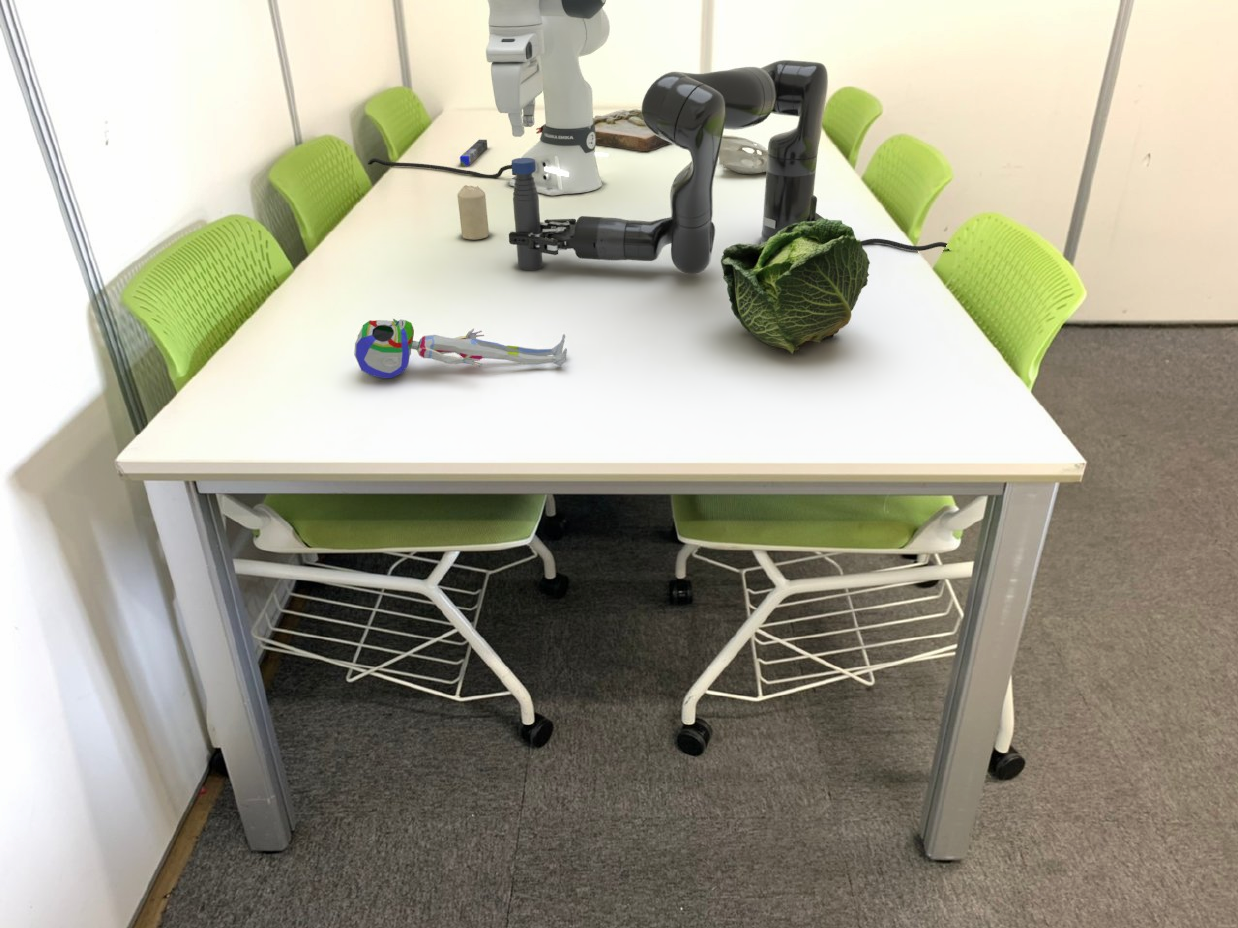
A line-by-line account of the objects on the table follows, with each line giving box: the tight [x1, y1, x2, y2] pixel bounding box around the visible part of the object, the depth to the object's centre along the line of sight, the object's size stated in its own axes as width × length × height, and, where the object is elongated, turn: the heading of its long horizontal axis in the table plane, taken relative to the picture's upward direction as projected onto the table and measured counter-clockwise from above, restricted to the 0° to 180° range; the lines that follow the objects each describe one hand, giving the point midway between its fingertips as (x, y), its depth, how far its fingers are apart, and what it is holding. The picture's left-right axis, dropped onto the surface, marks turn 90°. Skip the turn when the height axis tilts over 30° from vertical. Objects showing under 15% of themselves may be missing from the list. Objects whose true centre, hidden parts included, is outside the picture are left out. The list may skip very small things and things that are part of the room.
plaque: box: [593, 108, 671, 152], centre depth 257 cm, size 30×7×30 cm
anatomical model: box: [718, 134, 768, 175], centre depth 221 cm, size 15×9×25 cm
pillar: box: [459, 139, 488, 167], centre depth 240 cm, size 2×2×20 cm
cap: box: [510, 157, 536, 174], centre depth 159 cm, size 4×4×2 cm
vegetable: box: [720, 217, 871, 354], centre depth 134 cm, size 20×19×20 cm
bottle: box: [512, 173, 544, 271], centre depth 163 cm, size 5×5×19 cm
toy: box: [353, 318, 568, 379], centre depth 130 cm, size 10×8×30 cm
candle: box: [456, 184, 490, 240], centre depth 181 cm, size 6×6×10 cm
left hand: (523, 131), depth 155 cm, fingers open, 6 cm apart
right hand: (514, 233), depth 166 cm, fingers closed on bottle, 4 cm apart
